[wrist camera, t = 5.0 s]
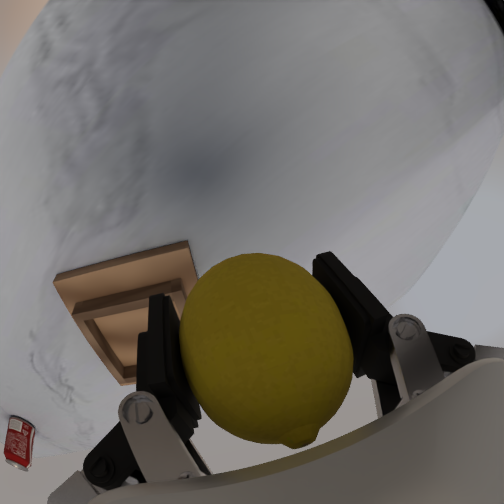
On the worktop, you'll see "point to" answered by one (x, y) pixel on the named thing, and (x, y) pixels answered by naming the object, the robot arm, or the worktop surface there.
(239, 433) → the lemon
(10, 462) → the soda can
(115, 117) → the worktop surface
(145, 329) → the board
